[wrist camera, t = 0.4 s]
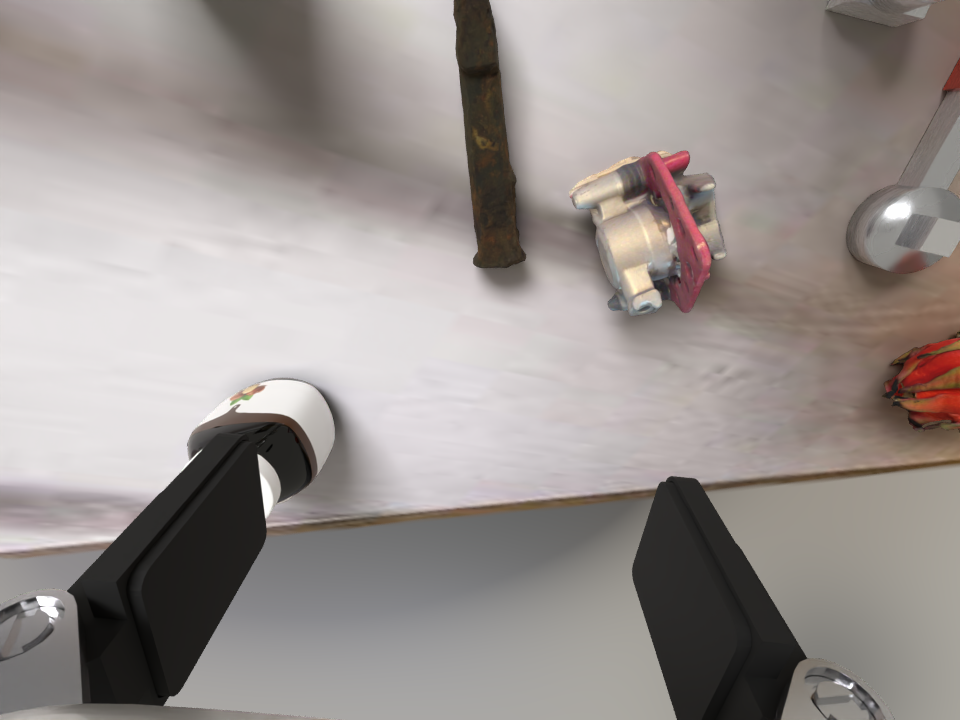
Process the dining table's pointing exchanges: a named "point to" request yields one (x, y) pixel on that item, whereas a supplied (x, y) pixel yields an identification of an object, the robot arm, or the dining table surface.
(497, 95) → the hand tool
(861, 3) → the socket
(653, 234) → the brake caliper
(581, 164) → the dining table surface
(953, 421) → the dragon fruit
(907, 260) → the ratchet
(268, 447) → the spread jar
